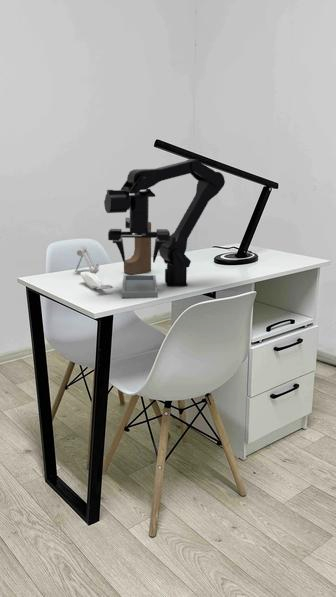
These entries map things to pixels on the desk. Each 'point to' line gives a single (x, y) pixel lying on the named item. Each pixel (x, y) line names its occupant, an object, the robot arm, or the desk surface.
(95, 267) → the portable electronic device stand
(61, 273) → the desk surface
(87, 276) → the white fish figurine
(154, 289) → the razor tray
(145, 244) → the brown boot
